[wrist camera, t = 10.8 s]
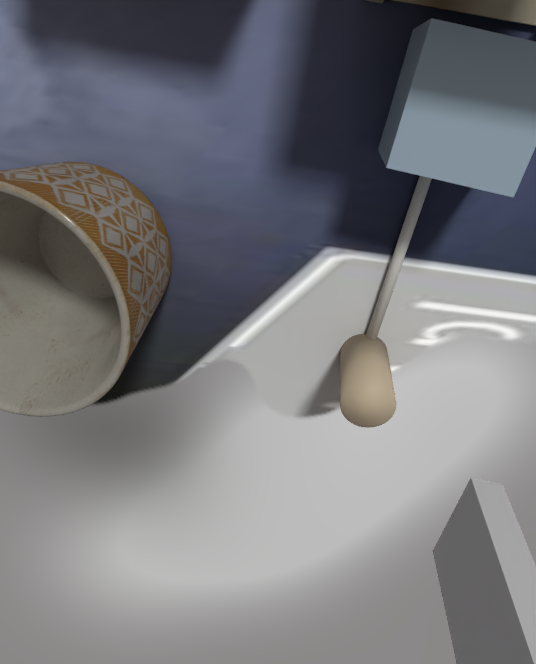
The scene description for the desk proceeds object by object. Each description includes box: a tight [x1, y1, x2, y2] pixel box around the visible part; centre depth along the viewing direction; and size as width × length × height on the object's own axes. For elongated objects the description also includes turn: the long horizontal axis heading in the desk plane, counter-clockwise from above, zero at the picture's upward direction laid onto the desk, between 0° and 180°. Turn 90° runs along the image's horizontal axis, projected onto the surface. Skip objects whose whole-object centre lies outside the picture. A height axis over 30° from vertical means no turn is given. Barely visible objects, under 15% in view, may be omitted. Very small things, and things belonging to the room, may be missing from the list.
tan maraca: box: [340, 18, 536, 427], centre depth 28 cm, size 6×21×6 cm, turn 169°
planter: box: [0, 162, 172, 416], centre depth 29 cm, size 13×13×10 cm
